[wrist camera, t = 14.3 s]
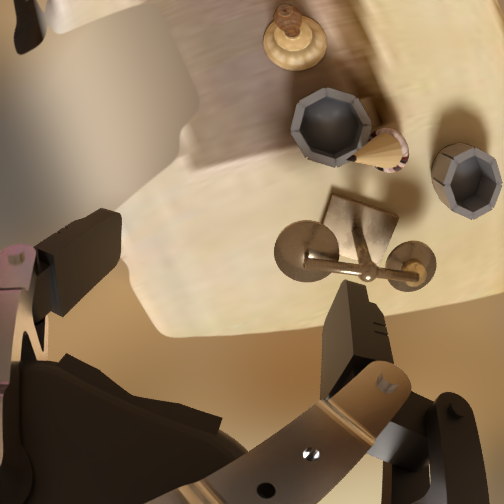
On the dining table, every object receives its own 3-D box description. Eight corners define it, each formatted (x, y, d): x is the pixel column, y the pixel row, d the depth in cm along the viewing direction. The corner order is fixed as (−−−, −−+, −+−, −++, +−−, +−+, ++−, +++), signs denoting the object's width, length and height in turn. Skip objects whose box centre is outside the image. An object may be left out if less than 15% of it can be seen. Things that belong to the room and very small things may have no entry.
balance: (293, 181, 43) (282, 219, 30) (429, 227, 42) (467, 279, 28) (278, 233, 47) (262, 288, 34) (408, 272, 45) (434, 335, 32)
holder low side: (442, 133, 36) (458, 138, 31) (490, 158, 35) (508, 166, 30) (422, 192, 40) (435, 204, 35) (470, 212, 39) (486, 226, 34)
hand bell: (339, 39, 33) (353, 4, 19) (300, 83, 37) (292, 69, 23) (289, 4, 32) (273, -45, 18) (251, 47, 36) (215, 18, 22)
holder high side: (304, 84, 37) (302, 80, 32) (370, 104, 36) (378, 104, 31) (288, 147, 41) (284, 152, 36) (352, 166, 40) (357, 175, 36)
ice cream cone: (349, 118, 26) (400, 119, 36) (310, 151, 31) (370, 141, 40) (384, 170, 26) (424, 156, 35) (341, 199, 30) (392, 176, 40)
